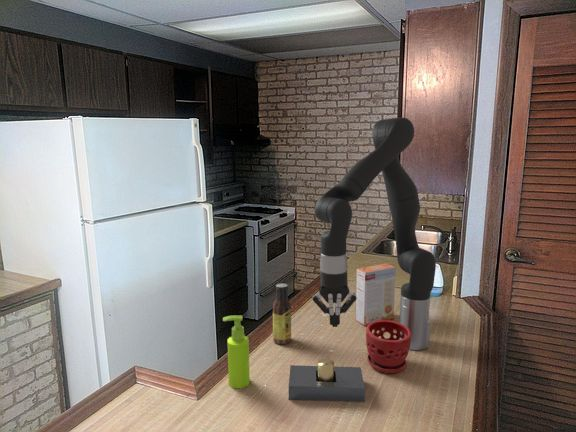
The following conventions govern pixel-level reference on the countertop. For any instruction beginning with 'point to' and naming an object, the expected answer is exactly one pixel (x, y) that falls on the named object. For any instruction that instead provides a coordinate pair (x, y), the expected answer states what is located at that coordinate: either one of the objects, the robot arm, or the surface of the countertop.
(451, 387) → the countertop surface
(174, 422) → the countertop surface
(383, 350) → the plant pot
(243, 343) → the soap dispenser
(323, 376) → the gold cylinder
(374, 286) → the cracker box
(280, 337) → the sauce bottle
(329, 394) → the jig
